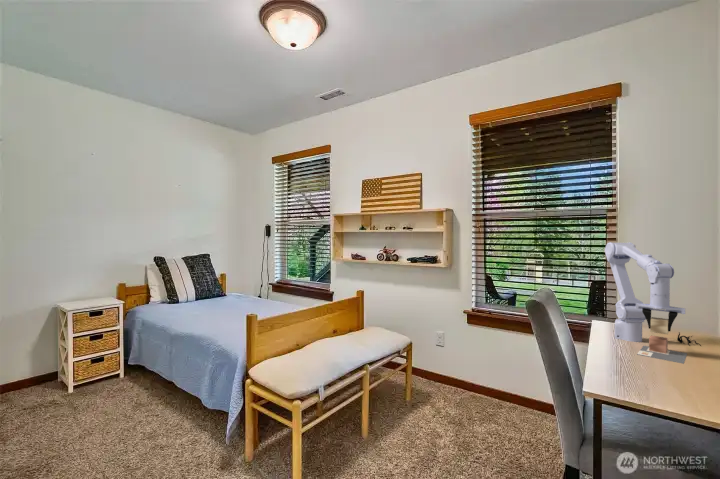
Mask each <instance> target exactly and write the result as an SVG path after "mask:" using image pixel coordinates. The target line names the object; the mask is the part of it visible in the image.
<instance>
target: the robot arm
mask: <svg viewBox="0 0 720 479" xmlns="http://www.w3.org/2000/svg"><path fill="white" fill-rule="evenodd" d="M636 246H637V245H636V244H634V243H633V242H631V241H629V242H613V241H612V242H611V241H610V242H607V243H606V244H605V248H604V253H605V256H606V257H605V258H606V260H607V262H608V263H609V266H610V269H611V272H612V274H613V275H612V276H613V279H614V282H615V285H616V288H617V292H618V295H619V300H618V301H617V302H616V303H615V314H616V316H617V318H616V319H615V321H614V339H616V340H623V341H627V342H631V343H642V342H643V323H645V321H646V322H647V325H648V329H650V330H651V318H652V311H658V312H665V313H668V319H669V323H668V332H671V329H672V325H673V324H674V321H675V319H676V318H677V316H678V314H682V315H686V308H685V307H676V306H671V305H670V304H671V303H670V301H671V300H670V298H671V297H670V296H671V295H670V293H671V292H670V291H671V287H670V286H671V285H670V284H671V283H670V282H671V279H673V277H674V276H675V269H674V267H673V266H672V264H670V263H664V262H663V263H662V262H661V261H660V260H659V259H656V258H655V257H653V255H652V254H647V253H645V254H644V253H642V252H641V251H640V250H639V249H637V247H636ZM630 260H634V261H635V262H636V264H637V266H638V267H640V268H641V269H643V270H644V271H645V272H646V275H647V278H648V283H650V284H649V285H650V287H649V288H650V291H649V292H650V294H649V295H650V296H649V303H644V302H643V301H642V300H640V299H638V298H637V297H636V296H635V293H634V290H633V287H632V284H631V280H630V277H629V274H628V271H627V268H626V265H625V264H627V263H629V262H630Z"/></svg>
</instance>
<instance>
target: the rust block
mask: <svg viewBox="0 0 720 479" xmlns="http://www.w3.org/2000/svg"><path fill="white" fill-rule="evenodd" d="M668 339H669V338H668V337H665V336H657V335H653V334H652V335H650V336H649V338H648V346H649V351H654V352H660V353H665V354H666V353H667V351H668V350H669V347H668V342H669V341H668Z"/></svg>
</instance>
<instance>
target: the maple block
mask: <svg viewBox="0 0 720 479" xmlns="http://www.w3.org/2000/svg"><path fill="white" fill-rule="evenodd" d="M668 323H669V318H663V317H655V316H651V329H650V333H655V334H656V333H657V334H660V335H661V334H662V335H669V331H668Z"/></svg>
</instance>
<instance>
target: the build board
mask: <svg viewBox="0 0 720 479" xmlns="http://www.w3.org/2000/svg"><path fill="white" fill-rule="evenodd" d="M636 355H637V356H642V357H647V358H651V359H657V360H658V359H659V360H663V361H668V362H673V363H678V364H683V365H684V364H685V361H686V358H687V356H688V353H687V352H682V351H677V350H672V349H671V350H669V349H668V351H667V353H666V354H665V353H660V352H654V351H649V345H643V346H642V347H641V348H640V350H639V351H638V352H637V354H636Z"/></svg>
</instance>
